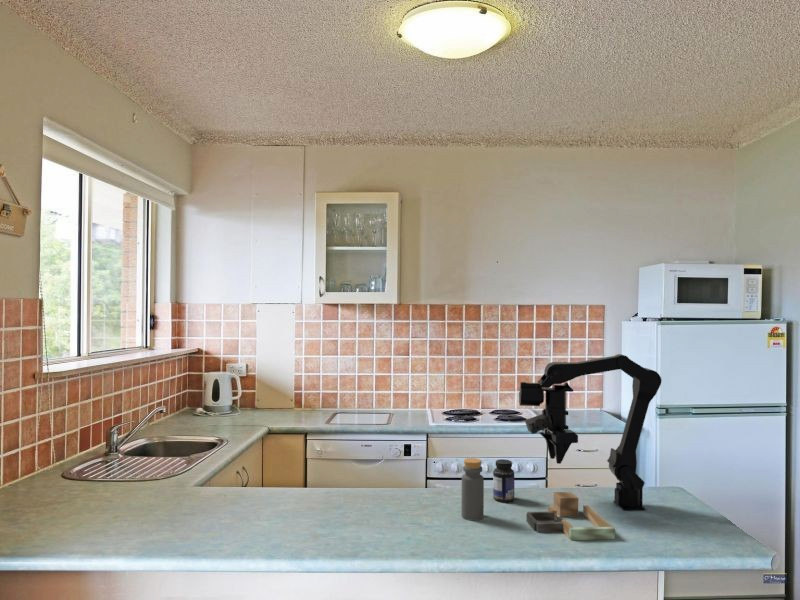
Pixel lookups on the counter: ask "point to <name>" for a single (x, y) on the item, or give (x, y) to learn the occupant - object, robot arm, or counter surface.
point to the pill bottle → (503, 481)
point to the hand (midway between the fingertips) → (555, 461)
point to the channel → (547, 524)
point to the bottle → (472, 490)
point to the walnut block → (566, 504)
